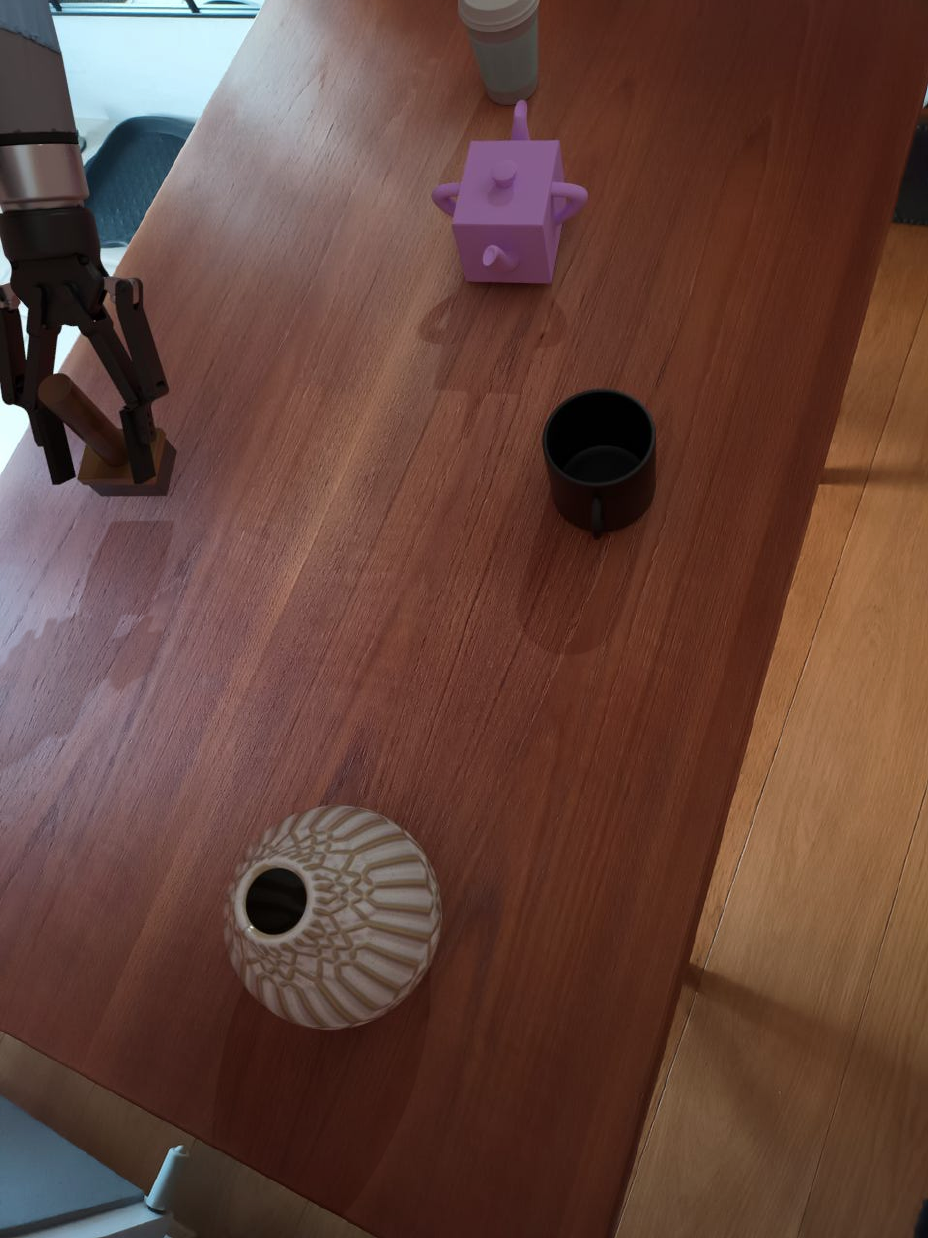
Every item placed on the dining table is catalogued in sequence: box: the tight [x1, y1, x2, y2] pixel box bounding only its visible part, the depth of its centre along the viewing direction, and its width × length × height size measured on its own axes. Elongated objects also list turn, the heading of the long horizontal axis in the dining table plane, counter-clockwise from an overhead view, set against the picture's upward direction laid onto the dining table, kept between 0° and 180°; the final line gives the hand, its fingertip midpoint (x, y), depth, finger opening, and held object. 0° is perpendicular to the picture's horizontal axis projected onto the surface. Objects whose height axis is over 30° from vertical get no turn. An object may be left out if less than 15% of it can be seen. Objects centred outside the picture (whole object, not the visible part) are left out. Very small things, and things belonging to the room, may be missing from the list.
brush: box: [38, 372, 178, 498], centre depth 86 cm, size 7×5×14 cm
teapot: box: [431, 100, 589, 285], centre depth 94 cm, size 15×13×11 cm
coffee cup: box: [457, 0, 541, 106], centre depth 102 cm, size 8×8×12 cm
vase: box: [222, 804, 443, 1031], centre depth 69 cm, size 16×16×20 cm
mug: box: [541, 388, 657, 541], centre depth 83 cm, size 9×12×9 cm
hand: (104, 479), depth 87 cm, fingers closed on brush, 7 cm apart
